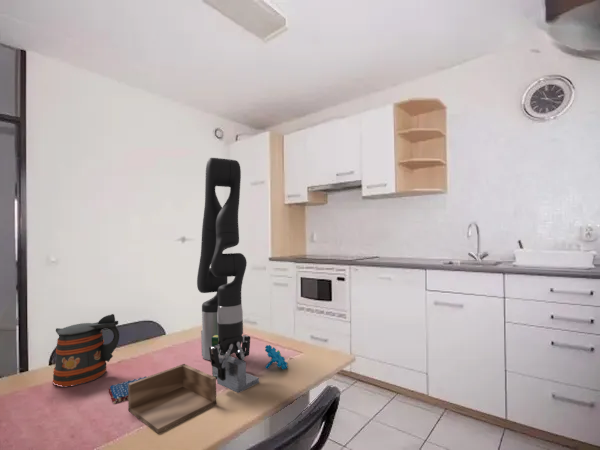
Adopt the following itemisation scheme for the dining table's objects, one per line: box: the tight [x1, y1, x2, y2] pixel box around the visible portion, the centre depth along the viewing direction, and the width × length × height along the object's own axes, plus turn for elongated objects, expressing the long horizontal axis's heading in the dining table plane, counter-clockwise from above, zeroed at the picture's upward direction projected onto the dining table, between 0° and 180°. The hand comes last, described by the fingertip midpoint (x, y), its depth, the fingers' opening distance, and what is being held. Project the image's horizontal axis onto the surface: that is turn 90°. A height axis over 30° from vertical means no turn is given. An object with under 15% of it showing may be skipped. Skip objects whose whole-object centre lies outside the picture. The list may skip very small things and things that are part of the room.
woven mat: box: [108, 376, 147, 404], centre depth 94 cm, size 10×11×2 cm
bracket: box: [216, 355, 260, 394], centre depth 98 cm, size 10×8×8 cm
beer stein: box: [52, 313, 120, 386], centre depth 106 cm, size 19×15×20 cm
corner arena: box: [127, 363, 217, 434], centre depth 85 cm, size 16×16×7 cm
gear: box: [264, 344, 288, 370], centre depth 108 cm, size 11×6×10 cm
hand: (231, 375), depth 96 cm, fingers open, 6 cm apart
